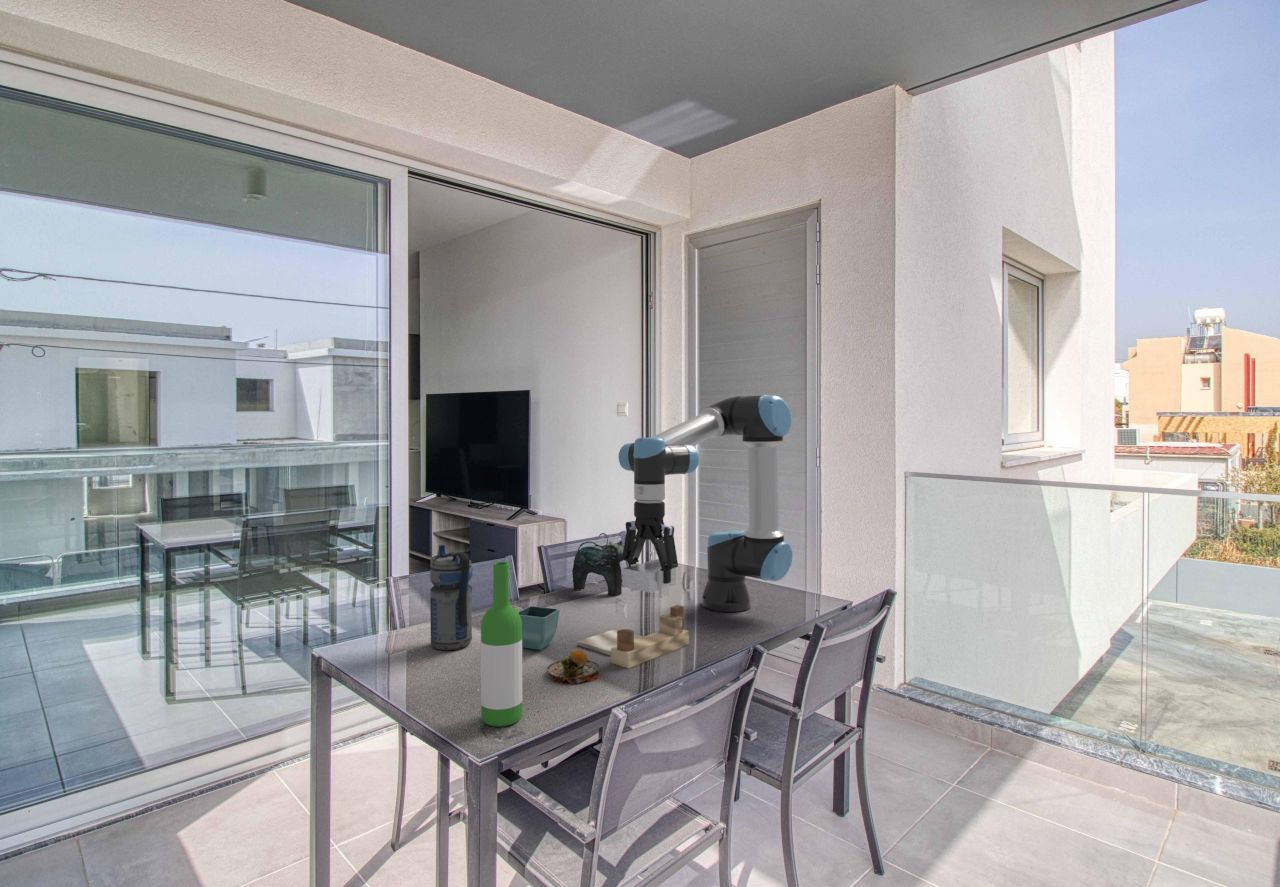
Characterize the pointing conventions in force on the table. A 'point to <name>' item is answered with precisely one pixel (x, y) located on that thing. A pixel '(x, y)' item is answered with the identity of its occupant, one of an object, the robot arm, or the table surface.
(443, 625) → the beverage bottle
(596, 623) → the table surface
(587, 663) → the salad plate
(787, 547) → the robot arm
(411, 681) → the table surface
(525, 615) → the flower pot
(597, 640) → the ash board
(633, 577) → the white block with stub
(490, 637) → the wine bottle
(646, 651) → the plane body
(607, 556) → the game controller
